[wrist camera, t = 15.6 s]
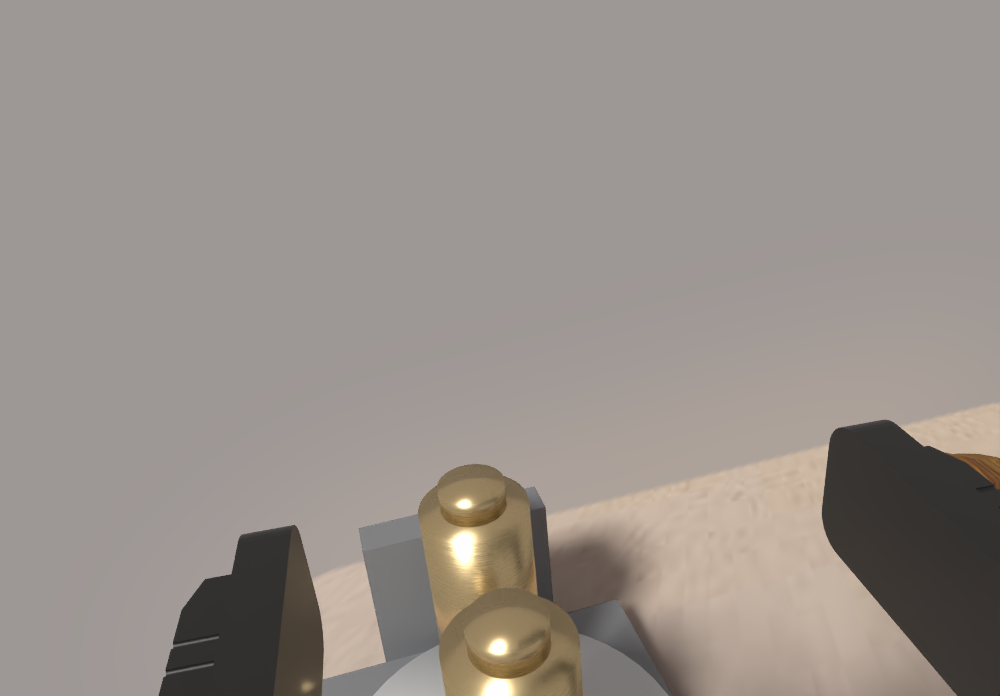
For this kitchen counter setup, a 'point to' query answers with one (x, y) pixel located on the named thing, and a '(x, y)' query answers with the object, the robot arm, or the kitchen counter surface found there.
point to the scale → (414, 635)
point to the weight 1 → (475, 538)
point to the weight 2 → (511, 648)
